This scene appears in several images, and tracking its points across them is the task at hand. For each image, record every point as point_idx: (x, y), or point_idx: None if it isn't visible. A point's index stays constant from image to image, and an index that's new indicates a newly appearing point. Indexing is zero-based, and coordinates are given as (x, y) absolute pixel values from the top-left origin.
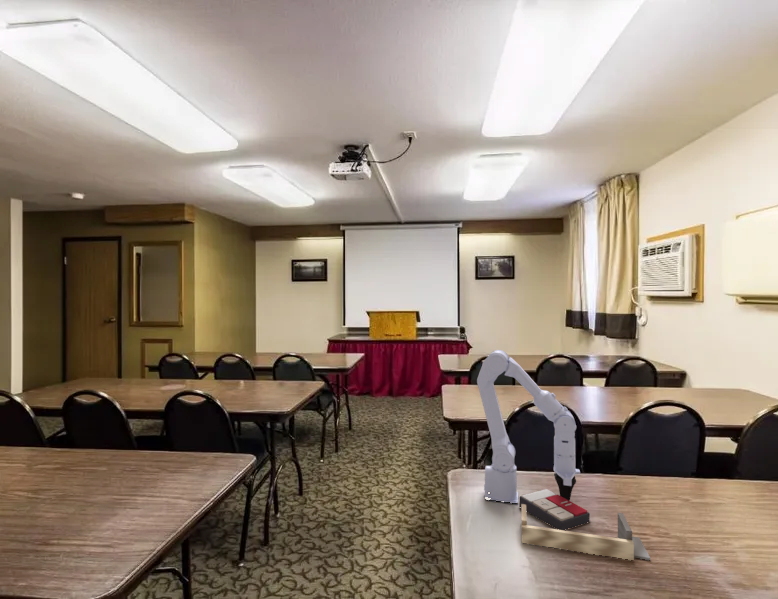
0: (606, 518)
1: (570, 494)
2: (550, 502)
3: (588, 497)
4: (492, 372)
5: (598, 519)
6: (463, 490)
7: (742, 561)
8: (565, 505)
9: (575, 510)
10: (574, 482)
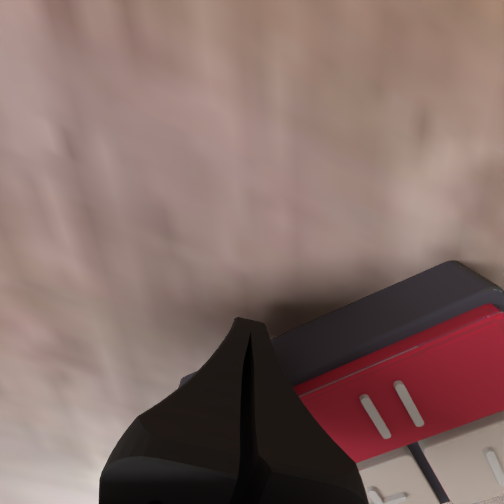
0: (429, 120)
1: (277, 361)
2: (368, 477)
3: (82, 113)
4: None
5: (433, 188)
6: None
7: None
8: (422, 424)
9: (486, 385)
10: (365, 491)
